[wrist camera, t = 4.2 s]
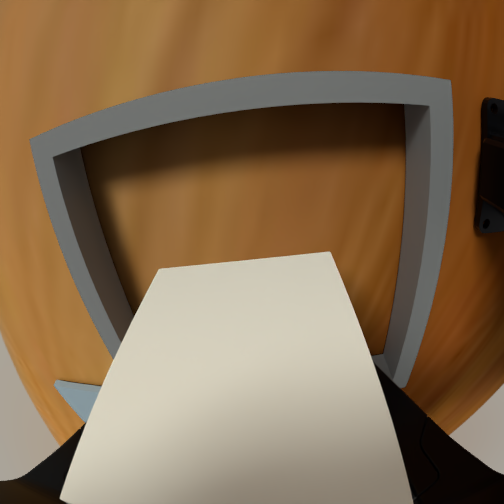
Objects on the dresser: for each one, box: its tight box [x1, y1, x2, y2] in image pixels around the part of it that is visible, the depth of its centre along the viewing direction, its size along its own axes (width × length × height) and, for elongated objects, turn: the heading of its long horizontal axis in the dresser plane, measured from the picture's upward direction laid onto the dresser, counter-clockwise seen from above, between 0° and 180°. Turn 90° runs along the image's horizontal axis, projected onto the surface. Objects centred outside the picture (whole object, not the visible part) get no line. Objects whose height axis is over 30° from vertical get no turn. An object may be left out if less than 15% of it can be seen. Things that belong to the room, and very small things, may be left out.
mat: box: [54, 380, 102, 423], centre depth 20 cm, size 10×10×1 cm
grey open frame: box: [29, 71, 453, 388], centre depth 15 cm, size 15×27×2 cm, turn 7°
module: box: [60, 252, 413, 504], centre depth 7 cm, size 5×5×7 cm
